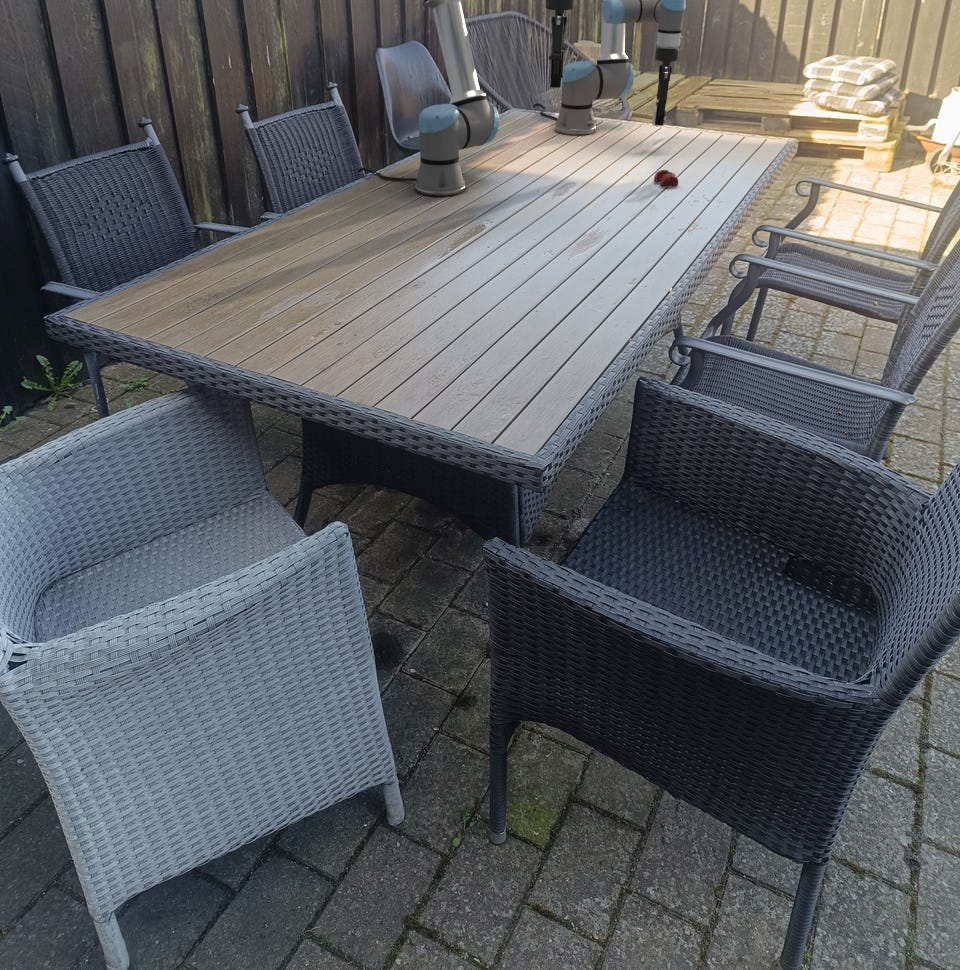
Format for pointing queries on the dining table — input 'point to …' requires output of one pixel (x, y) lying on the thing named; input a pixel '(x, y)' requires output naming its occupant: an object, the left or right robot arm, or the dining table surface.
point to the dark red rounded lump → (666, 178)
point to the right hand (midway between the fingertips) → (658, 122)
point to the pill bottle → (655, 115)
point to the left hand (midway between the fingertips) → (556, 82)
